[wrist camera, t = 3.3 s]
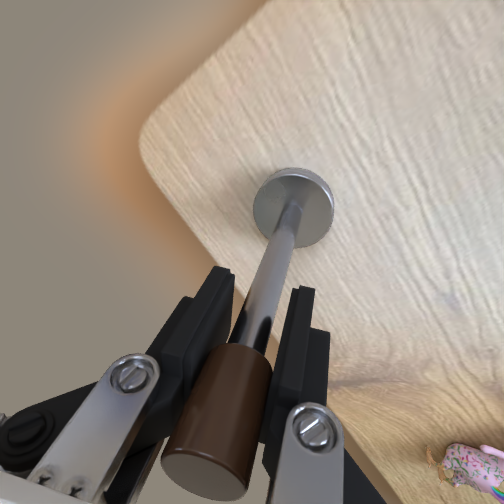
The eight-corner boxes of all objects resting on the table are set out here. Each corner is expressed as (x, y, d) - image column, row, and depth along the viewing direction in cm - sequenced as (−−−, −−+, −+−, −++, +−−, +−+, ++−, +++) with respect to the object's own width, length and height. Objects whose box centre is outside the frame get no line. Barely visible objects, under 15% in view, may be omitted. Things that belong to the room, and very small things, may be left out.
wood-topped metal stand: (243, 208, 20) (79, 452, 8) (289, 150, 18) (155, 376, 5) (299, 252, 21) (229, 542, 8) (351, 202, 18) (361, 512, 6)
